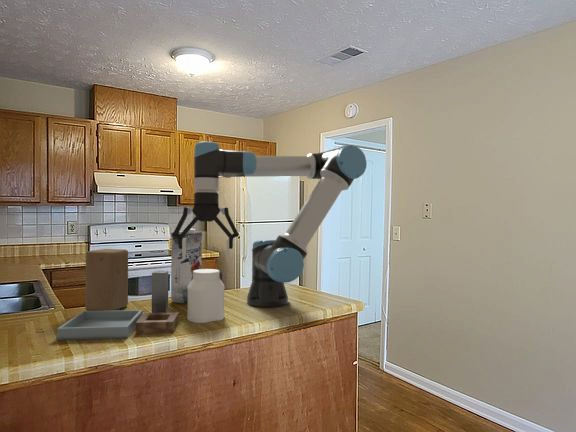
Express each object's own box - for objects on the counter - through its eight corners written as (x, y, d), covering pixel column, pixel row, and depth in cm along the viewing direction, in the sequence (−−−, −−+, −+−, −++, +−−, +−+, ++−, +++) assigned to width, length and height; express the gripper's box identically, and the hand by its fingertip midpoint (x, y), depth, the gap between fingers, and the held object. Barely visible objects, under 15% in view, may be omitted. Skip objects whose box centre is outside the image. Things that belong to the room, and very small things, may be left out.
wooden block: (111, 313, 130) (111, 252, 129) (84, 311, 132) (84, 251, 131) (129, 306, 140) (129, 249, 139) (103, 304, 142) (104, 248, 141)
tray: (142, 319, 124) (142, 309, 123) (127, 338, 106) (127, 326, 106) (82, 320, 121) (82, 311, 121) (56, 340, 104) (56, 328, 104)
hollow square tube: (178, 322, 121) (178, 312, 121) (173, 332, 111) (173, 321, 111) (144, 323, 120) (144, 313, 120) (135, 333, 110) (135, 322, 110)
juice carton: (167, 302, 146) (167, 228, 145) (185, 296, 155) (185, 227, 155) (187, 305, 142) (187, 229, 142) (204, 299, 152) (205, 228, 151)
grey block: (168, 312, 132) (168, 270, 131) (165, 316, 127) (166, 272, 127) (154, 313, 131) (154, 270, 131) (151, 316, 127) (151, 272, 126)
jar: (216, 312, 133) (216, 267, 133) (229, 319, 126) (229, 271, 125) (182, 317, 127) (183, 270, 127) (194, 324, 119) (194, 274, 119)
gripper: (246, 192, 131) (245, 257, 131) (167, 191, 128) (167, 258, 128) (246, 192, 123) (246, 260, 124) (163, 190, 120) (163, 261, 121)
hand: (206, 259), depth 126 cm, fingers open, 13 cm apart
